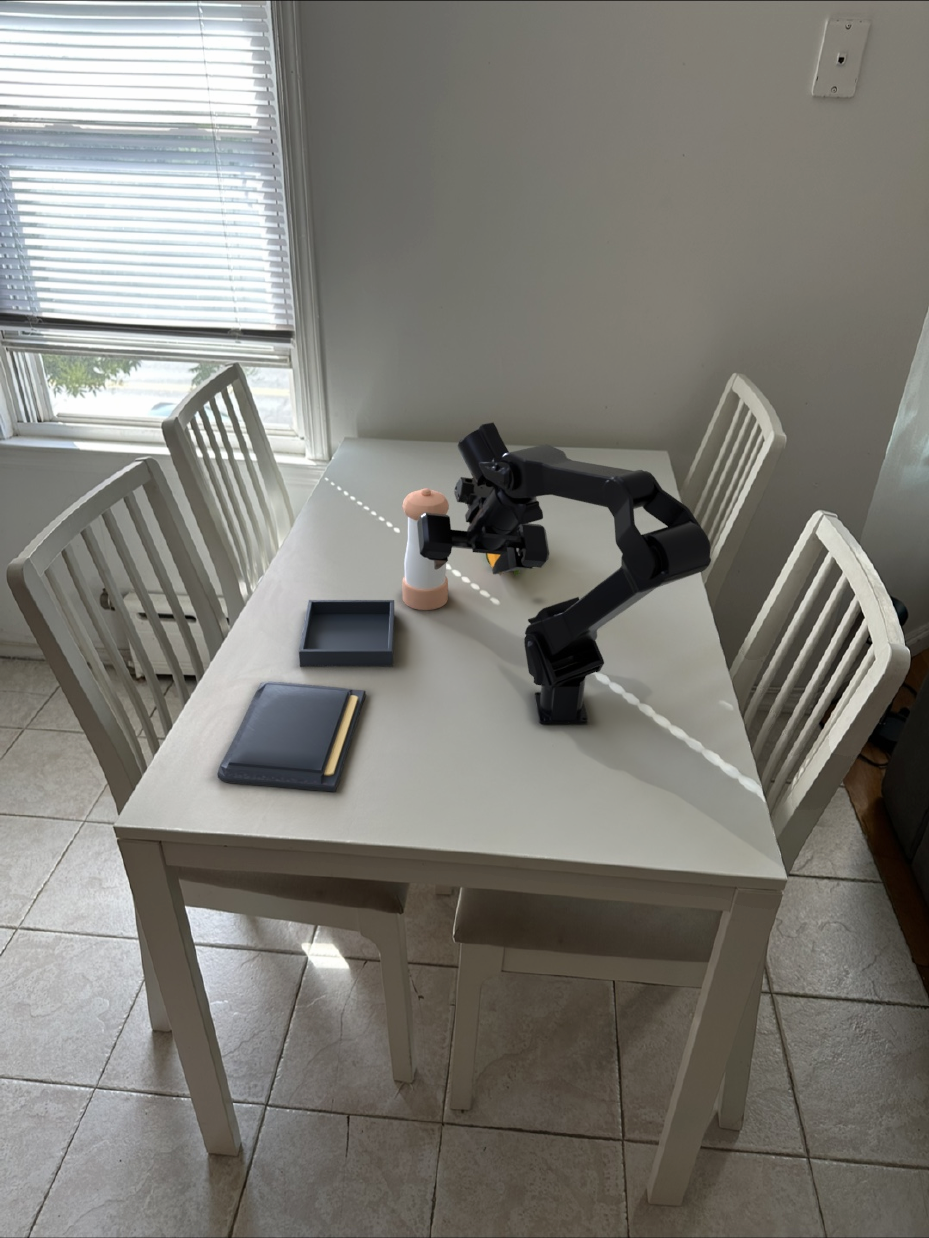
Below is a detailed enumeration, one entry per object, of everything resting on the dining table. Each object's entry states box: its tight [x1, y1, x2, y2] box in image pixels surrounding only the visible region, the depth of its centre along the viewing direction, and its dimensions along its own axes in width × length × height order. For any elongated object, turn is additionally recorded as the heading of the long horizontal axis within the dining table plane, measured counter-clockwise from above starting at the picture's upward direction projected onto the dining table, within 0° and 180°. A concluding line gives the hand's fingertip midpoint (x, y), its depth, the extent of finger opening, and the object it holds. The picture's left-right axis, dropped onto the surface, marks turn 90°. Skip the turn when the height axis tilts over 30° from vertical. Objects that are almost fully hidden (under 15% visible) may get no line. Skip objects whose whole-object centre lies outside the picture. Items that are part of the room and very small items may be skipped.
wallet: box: [216, 681, 367, 793], centre depth 118 cm, size 20×2×15 cm
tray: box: [298, 599, 395, 667], centre depth 138 cm, size 14×13×3 cm
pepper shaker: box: [402, 487, 450, 611], centre depth 144 cm, size 7×7×19 cm
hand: (464, 569), depth 137 cm, fingers open, 9 cm apart
